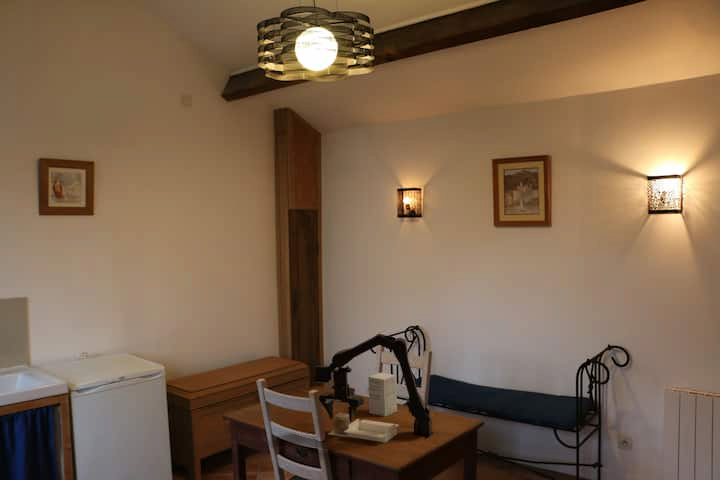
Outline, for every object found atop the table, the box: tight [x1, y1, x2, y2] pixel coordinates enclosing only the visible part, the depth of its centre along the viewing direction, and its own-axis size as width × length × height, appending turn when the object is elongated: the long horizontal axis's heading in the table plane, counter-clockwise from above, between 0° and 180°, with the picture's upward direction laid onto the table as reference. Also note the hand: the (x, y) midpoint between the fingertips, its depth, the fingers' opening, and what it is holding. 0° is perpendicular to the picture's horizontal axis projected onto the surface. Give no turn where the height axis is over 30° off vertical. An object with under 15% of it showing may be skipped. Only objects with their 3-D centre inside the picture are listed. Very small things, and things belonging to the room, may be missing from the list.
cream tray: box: [344, 418, 400, 443], centre depth 243 cm, size 17×16×5 cm
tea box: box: [333, 412, 351, 435], centre depth 248 cm, size 5×5×7 cm
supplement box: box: [367, 372, 398, 417], centre depth 275 cm, size 10×9×17 cm
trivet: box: [327, 429, 348, 438], centre depth 248 cm, size 9×9×1 cm
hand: (341, 420), depth 248 cm, fingers open, 9 cm apart
